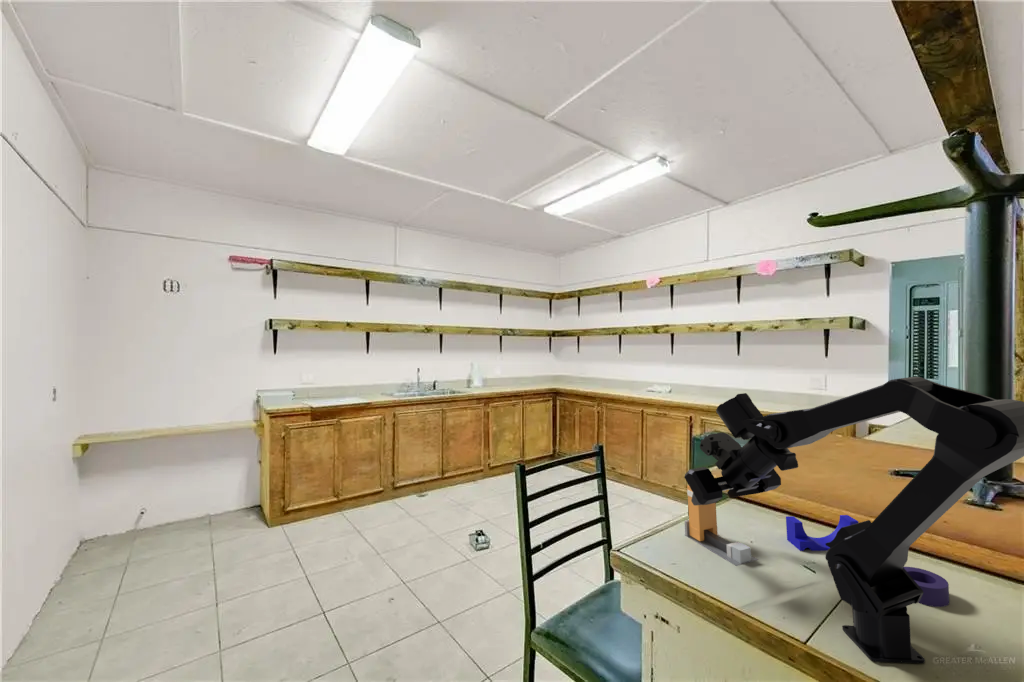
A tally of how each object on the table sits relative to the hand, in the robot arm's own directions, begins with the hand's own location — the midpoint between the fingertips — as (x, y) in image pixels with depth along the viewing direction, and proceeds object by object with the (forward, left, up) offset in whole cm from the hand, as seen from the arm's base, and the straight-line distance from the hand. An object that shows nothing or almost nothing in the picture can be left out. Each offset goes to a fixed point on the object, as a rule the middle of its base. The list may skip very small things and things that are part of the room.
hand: (711, 499), depth 88 cm
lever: (-13, -25, -11) cm, 30 cm away
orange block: (+3, +1, -9) cm, 10 cm away
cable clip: (0, -21, -10) cm, 24 cm away
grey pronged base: (-1, 0, -10) cm, 10 cm away
